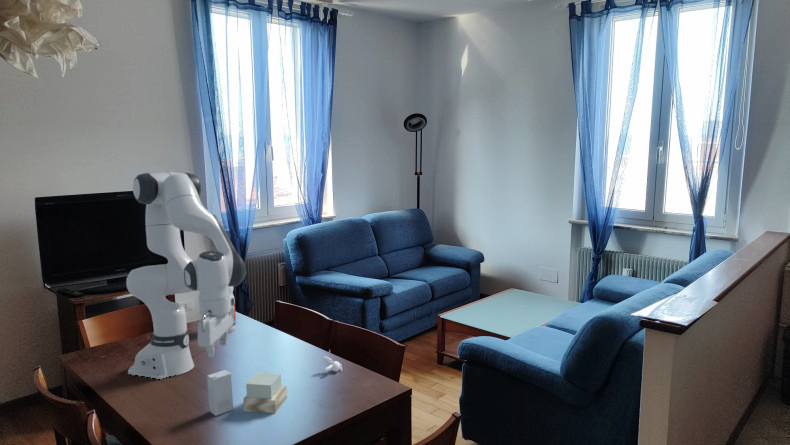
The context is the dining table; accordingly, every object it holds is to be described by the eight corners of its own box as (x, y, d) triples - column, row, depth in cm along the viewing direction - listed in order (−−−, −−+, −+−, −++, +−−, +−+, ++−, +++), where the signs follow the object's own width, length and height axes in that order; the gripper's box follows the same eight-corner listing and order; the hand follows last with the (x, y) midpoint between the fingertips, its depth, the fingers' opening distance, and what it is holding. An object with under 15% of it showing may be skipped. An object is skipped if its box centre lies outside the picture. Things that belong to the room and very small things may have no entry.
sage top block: (246, 397, 166) (246, 383, 165) (257, 385, 174) (257, 372, 173) (271, 399, 165) (270, 385, 164) (281, 387, 172) (280, 374, 172)
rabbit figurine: (345, 373, 192) (326, 368, 188) (339, 379, 194) (320, 374, 190) (343, 359, 197) (325, 353, 193) (337, 365, 198) (319, 359, 194)
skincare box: (227, 405, 170) (225, 368, 168) (234, 410, 167) (232, 373, 165) (208, 411, 166) (206, 374, 164) (215, 417, 162) (212, 379, 161)
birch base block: (244, 412, 166) (243, 398, 165) (257, 397, 176) (256, 384, 175) (275, 414, 165) (274, 400, 164) (286, 399, 174) (286, 385, 174)
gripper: (212, 317, 151) (215, 364, 153) (236, 296, 171) (239, 338, 173) (190, 317, 151) (193, 364, 153) (217, 296, 171) (219, 338, 173)
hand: (217, 350), depth 163 cm, fingers open, 8 cm apart
